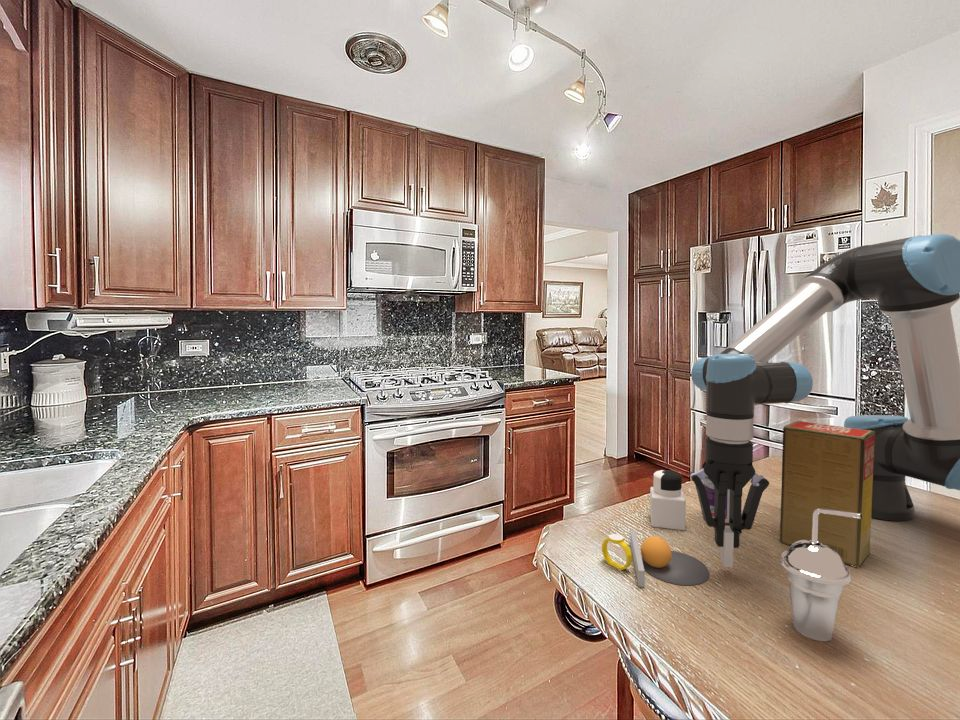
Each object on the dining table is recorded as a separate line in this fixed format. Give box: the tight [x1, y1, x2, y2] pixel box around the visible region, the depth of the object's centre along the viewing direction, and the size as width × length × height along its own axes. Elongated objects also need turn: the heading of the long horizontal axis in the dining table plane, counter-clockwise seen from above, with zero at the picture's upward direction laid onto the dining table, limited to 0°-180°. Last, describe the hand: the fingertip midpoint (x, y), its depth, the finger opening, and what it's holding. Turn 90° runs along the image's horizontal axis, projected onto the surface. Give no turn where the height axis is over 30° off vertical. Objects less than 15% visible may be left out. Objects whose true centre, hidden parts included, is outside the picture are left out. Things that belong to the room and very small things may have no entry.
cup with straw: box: [779, 508, 862, 642], centre depth 64 cm, size 8×9×20 cm
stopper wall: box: [629, 528, 646, 588], centre depth 85 cm, size 1×16×3 cm, turn 166°
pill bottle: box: [703, 475, 743, 524], centre depth 103 cm, size 8×8×14 cm
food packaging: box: [779, 420, 875, 568], centre depth 88 cm, size 13×9×25 cm
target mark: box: [641, 550, 710, 587], centre depth 83 cm, size 12×12×1 cm
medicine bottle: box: [649, 469, 687, 531], centre depth 101 cm, size 7×7×12 cm
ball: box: [640, 536, 672, 568], centre depth 83 cm, size 6×6×6 cm
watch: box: [601, 533, 633, 571], centre depth 84 cm, size 6×3×6 cm, turn 37°
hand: (726, 562), depth 81 cm, fingers closed
